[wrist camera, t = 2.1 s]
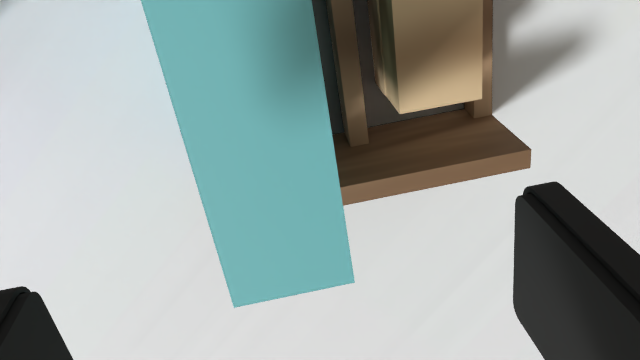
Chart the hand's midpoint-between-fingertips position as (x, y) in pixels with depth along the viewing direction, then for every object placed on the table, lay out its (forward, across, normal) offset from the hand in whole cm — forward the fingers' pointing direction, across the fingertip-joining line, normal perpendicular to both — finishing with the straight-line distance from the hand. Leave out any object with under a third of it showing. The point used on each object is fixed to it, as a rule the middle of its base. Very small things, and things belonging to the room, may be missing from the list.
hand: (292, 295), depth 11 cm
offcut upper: (+17, -8, -1) cm, 19 cm away
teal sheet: (+19, 0, -1) cm, 19 cm away
